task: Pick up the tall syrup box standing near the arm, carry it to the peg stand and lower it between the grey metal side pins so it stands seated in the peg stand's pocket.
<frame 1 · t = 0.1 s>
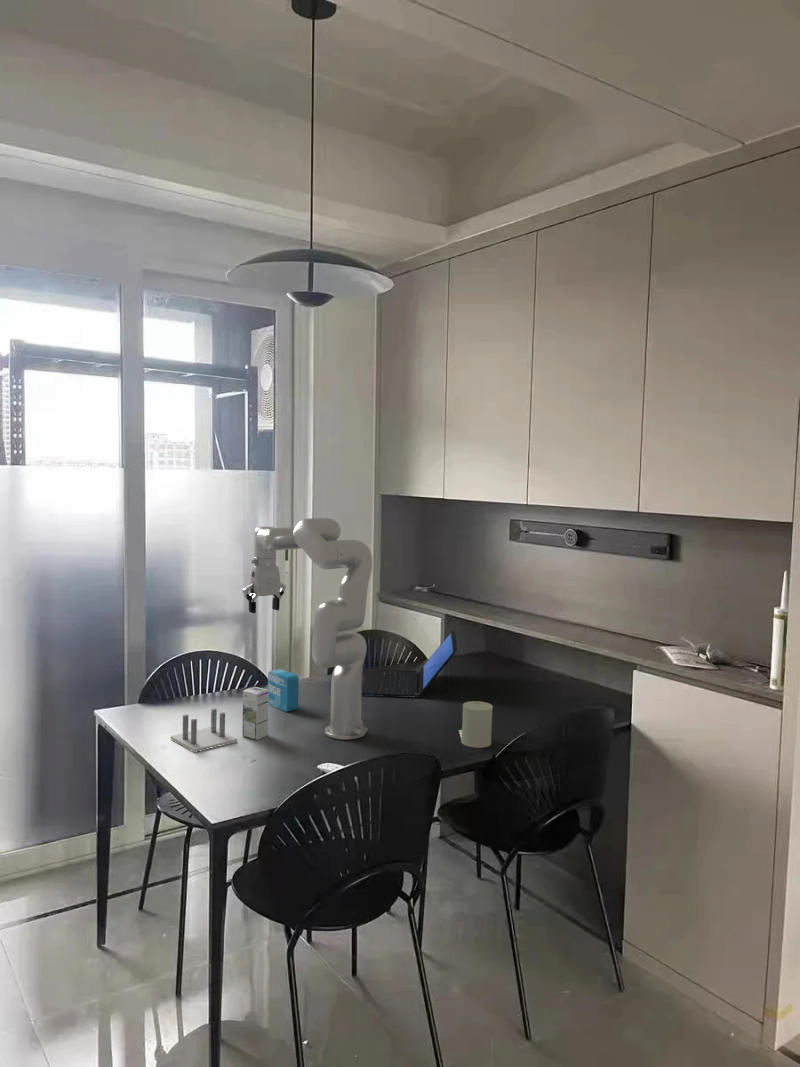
hand: (264, 611, 273), 31 cm above the table, tool pointing down, fingers open, 9 cm apart
laptop: (404, 686, 300), on the table
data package: (282, 708, 268), on the table
peg stand: (203, 740, 233), on the table
can: (476, 743, 240), on the table
syrup box: (255, 736, 239), on the table
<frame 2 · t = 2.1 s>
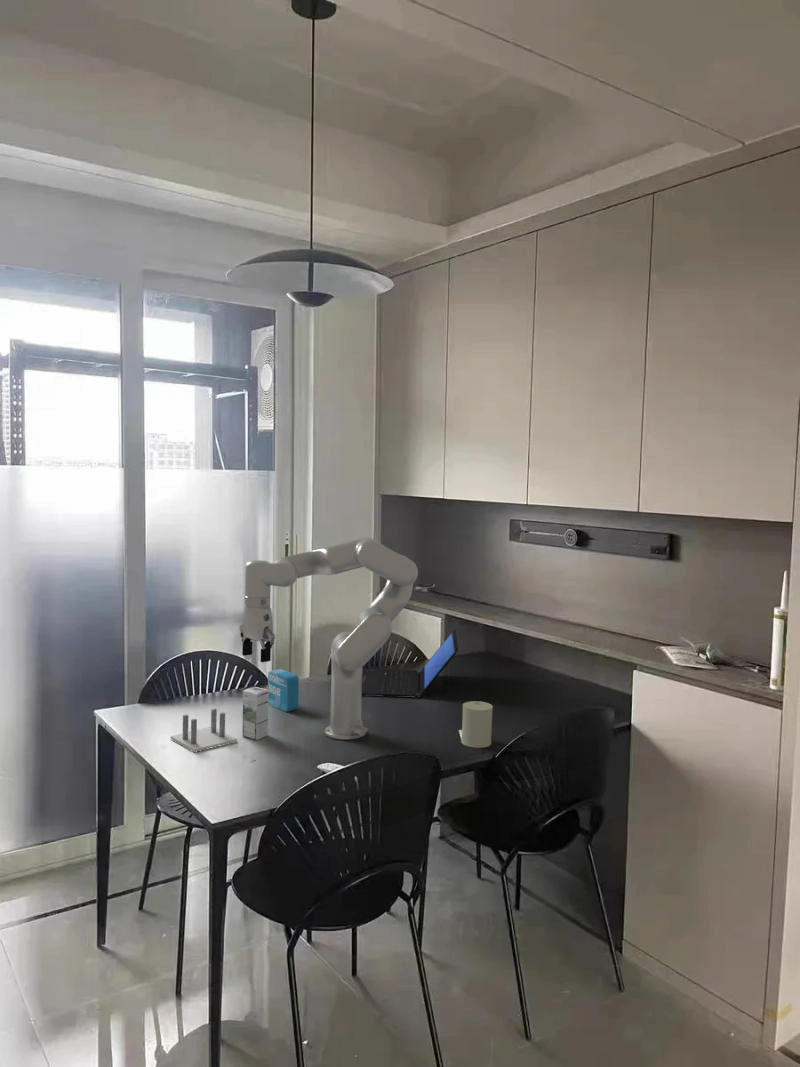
hand: (256, 658, 237), 24 cm above the table, tool pointing down, fingers open, 9 cm apart
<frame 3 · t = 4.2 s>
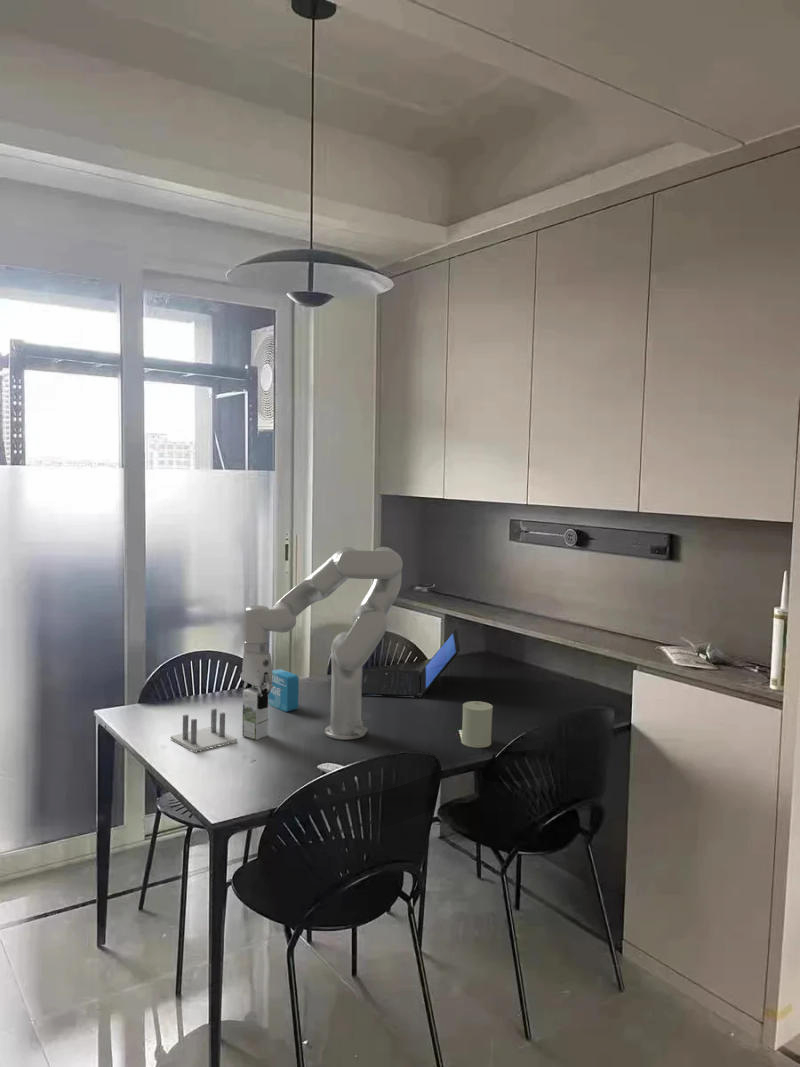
hand: (255, 704, 238), 10 cm above the table, tool pointing down, fingers closed on syrup box, 6 cm apart
syrup box: (255, 736, 239), on the table, touching gripper
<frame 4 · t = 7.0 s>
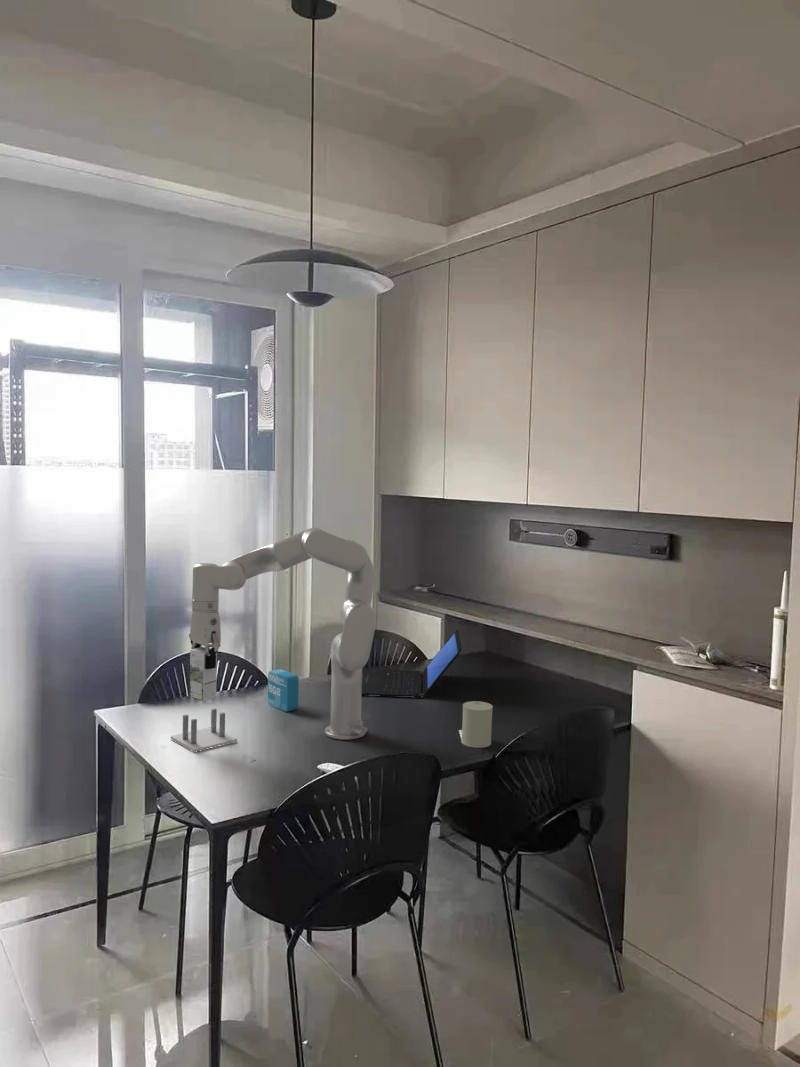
hand: (203, 665, 231), 23 cm above the table, tool pointing down, fingers closed on syrup box, 6 cm apart
syrup box: (202, 698, 232), point 13 cm above the table, touching gripper
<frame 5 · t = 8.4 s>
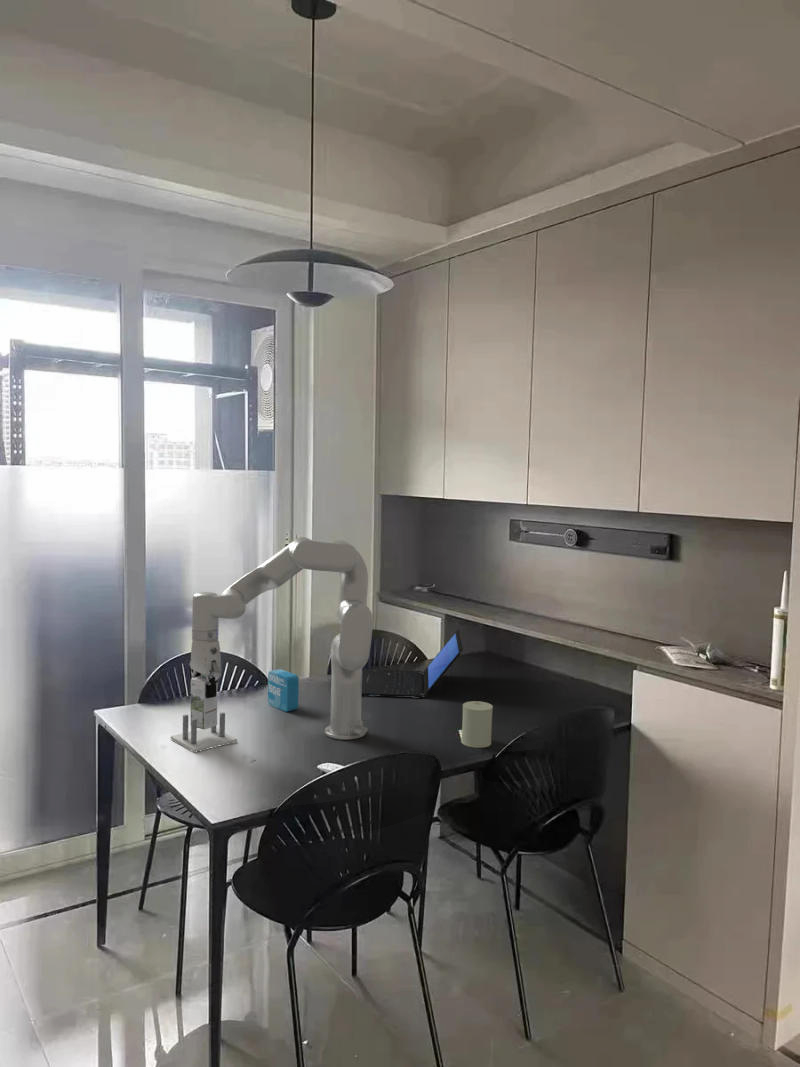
hand: (204, 693, 232), 14 cm above the table, tool pointing down, fingers closed on syrup box, 6 cm apart
syrup box: (203, 726, 233), point 4 cm above the table, touching gripper
when the fingers open (12 cm above the table, at t = 9.8 s): syrup box drops 1 cm, resting on peg stand.
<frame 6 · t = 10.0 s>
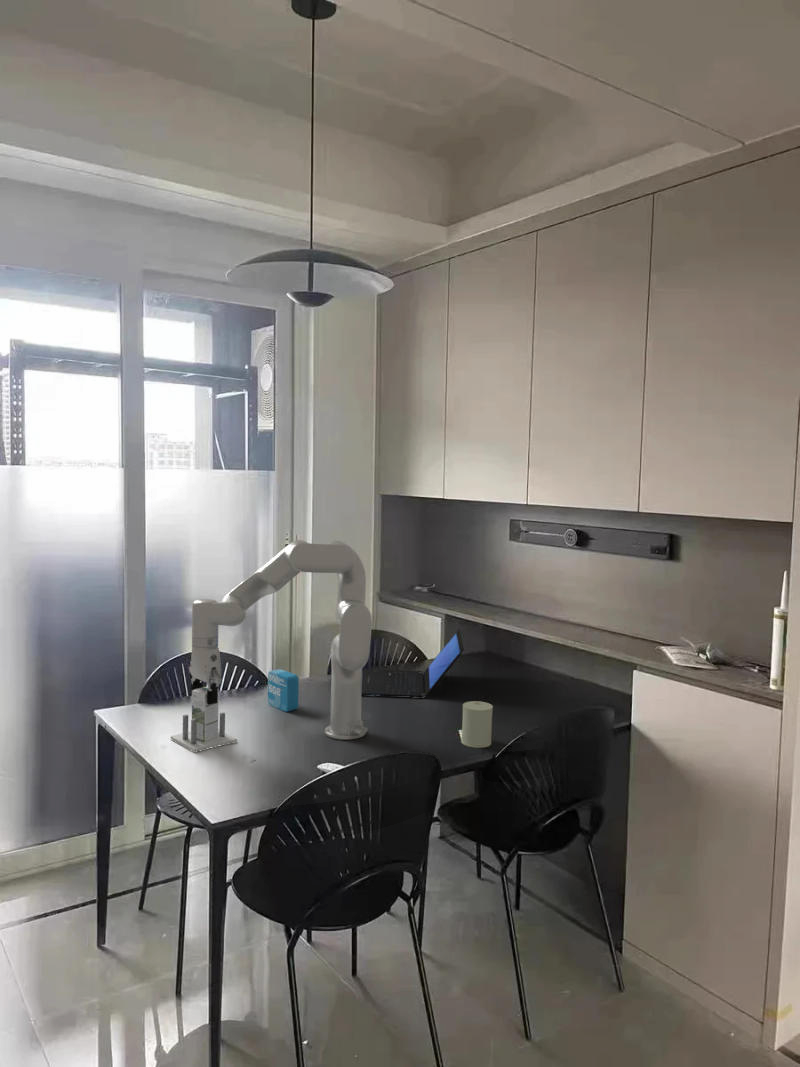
hand: (204, 699, 232), 12 cm above the table, tool pointing down, fingers open, 8 cm apart
syrup box: (204, 738, 233), point 1 cm above the table, touching peg stand
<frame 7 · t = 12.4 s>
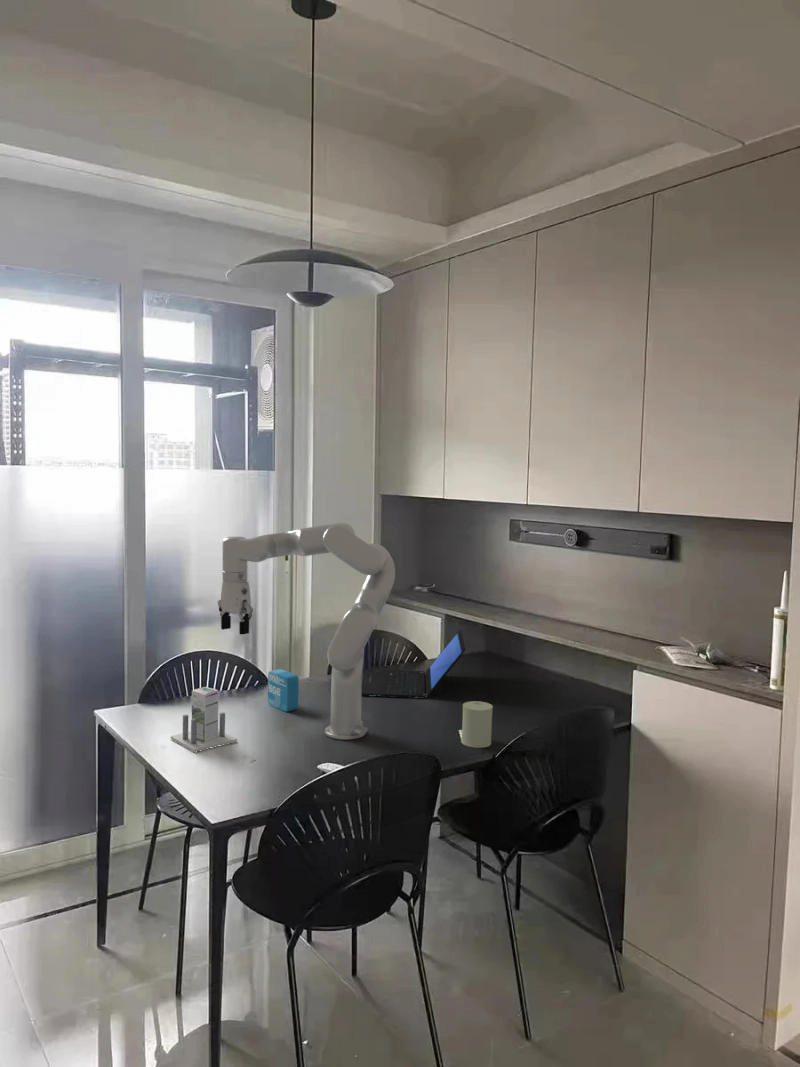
hand: (235, 631, 245), 30 cm above the table, tool pointing down, fingers open, 9 cm apart
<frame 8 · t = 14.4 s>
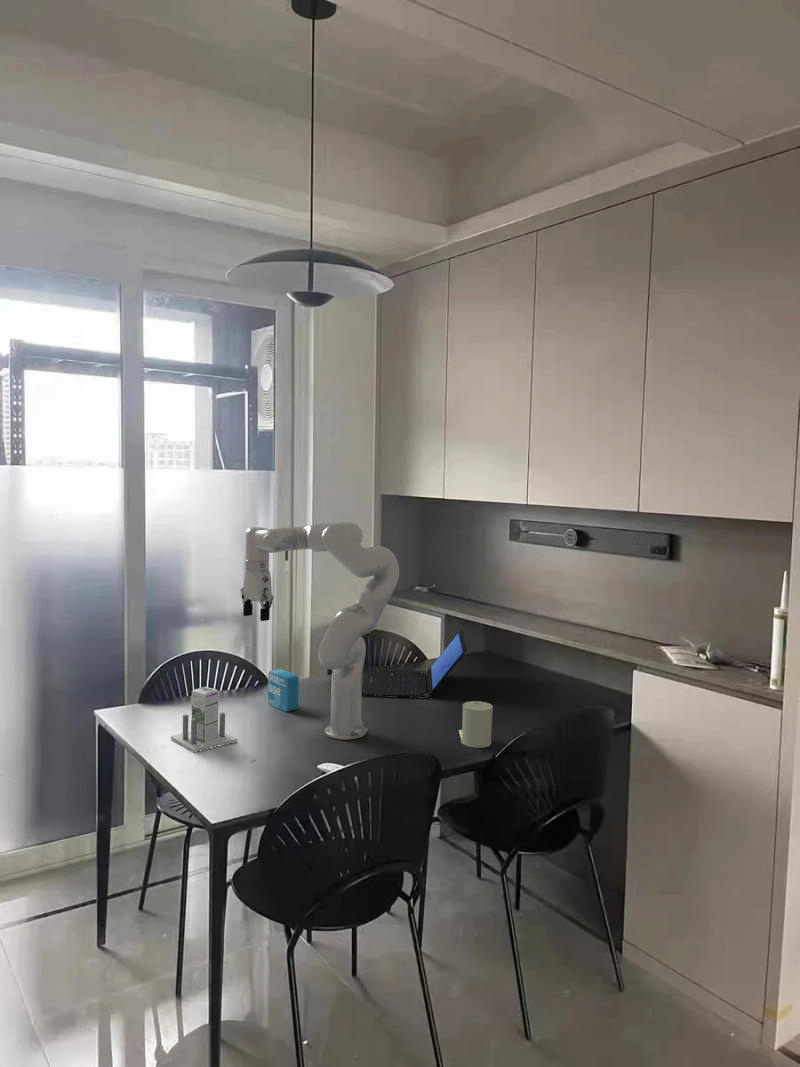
hand: (256, 617, 256), 32 cm above the table, tool pointing down, fingers open, 9 cm apart
at the end: syrup box 0.3 cm off-centre on the peg stand, point 0.8 cm above the peg stand's base; syrup box tilted 0°; the gripper is holding nothing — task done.
